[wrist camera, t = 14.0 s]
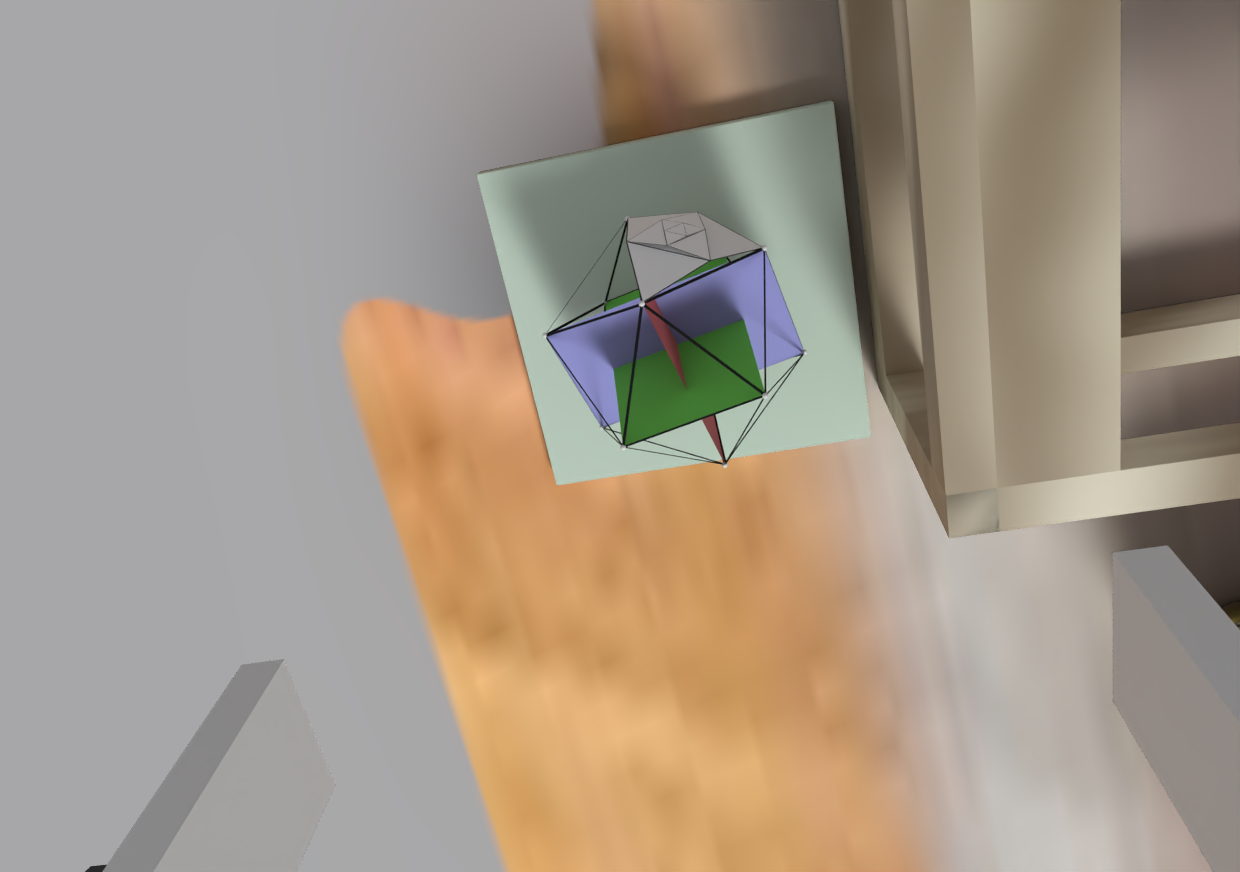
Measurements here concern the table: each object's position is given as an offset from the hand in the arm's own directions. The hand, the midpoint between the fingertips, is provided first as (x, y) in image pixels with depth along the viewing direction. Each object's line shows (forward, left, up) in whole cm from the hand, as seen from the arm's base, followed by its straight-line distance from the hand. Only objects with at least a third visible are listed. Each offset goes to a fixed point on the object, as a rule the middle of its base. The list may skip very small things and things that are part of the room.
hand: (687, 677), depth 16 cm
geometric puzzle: (0, -1, -18) cm, 18 cm away
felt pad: (0, -1, -19) cm, 19 cm away
